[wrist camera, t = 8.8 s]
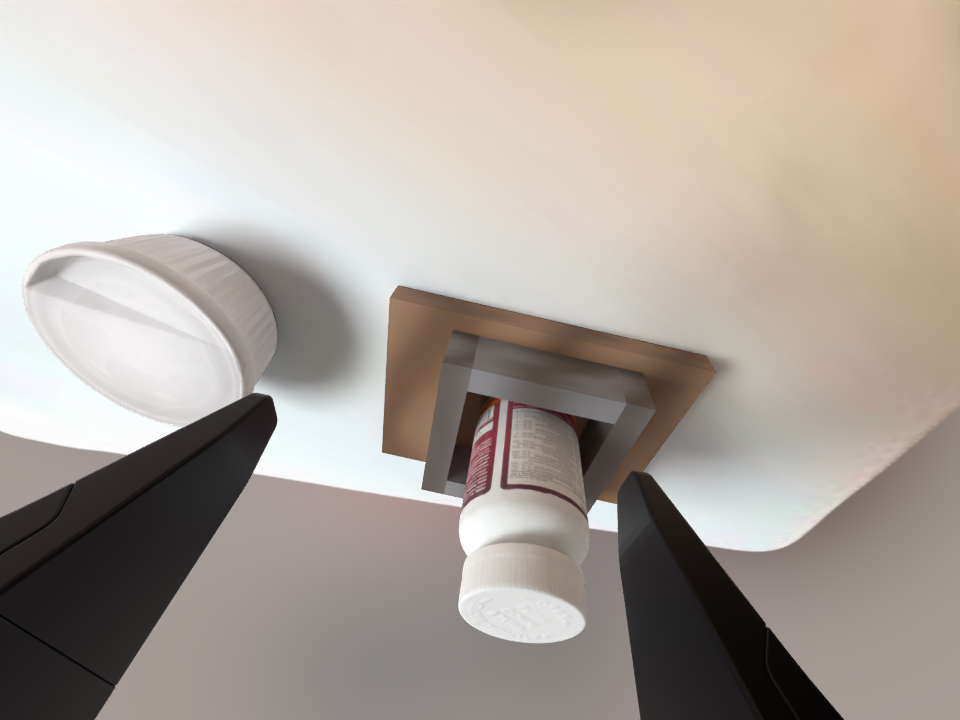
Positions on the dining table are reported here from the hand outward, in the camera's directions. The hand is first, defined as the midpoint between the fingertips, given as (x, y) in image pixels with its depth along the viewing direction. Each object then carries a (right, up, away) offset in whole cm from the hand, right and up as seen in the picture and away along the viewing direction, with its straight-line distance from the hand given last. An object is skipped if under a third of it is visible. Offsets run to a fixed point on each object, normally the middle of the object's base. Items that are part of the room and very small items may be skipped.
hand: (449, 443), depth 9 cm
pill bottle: (+4, -2, +15) cm, 15 cm away
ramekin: (-16, +6, +15) cm, 23 cm away
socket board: (+4, -1, +16) cm, 16 cm away
